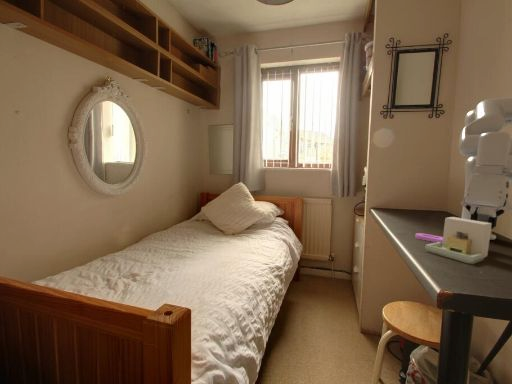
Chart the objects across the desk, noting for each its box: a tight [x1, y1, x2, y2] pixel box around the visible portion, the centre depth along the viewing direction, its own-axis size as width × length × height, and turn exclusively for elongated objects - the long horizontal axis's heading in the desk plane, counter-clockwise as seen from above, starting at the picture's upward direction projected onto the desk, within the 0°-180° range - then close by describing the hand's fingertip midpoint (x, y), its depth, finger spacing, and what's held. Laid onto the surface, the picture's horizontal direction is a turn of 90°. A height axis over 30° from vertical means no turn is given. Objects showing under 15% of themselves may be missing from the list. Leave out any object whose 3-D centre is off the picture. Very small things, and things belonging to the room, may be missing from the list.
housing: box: [441, 216, 492, 258], centre depth 82 cm, size 5×10×10 cm, turn 31°
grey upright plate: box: [461, 214, 490, 239], centre depth 85 cm, size 13×2×7 cm, turn 121°
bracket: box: [414, 232, 443, 245], centre depth 95 cm, size 13×6×7 cm, turn 45°
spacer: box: [446, 236, 472, 255], centre depth 80 cm, size 3×5×4 cm
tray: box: [424, 242, 486, 265], centre depth 79 cm, size 8×12×2 cm, turn 31°
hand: (482, 226), depth 88 cm, fingers open, 3 cm apart
